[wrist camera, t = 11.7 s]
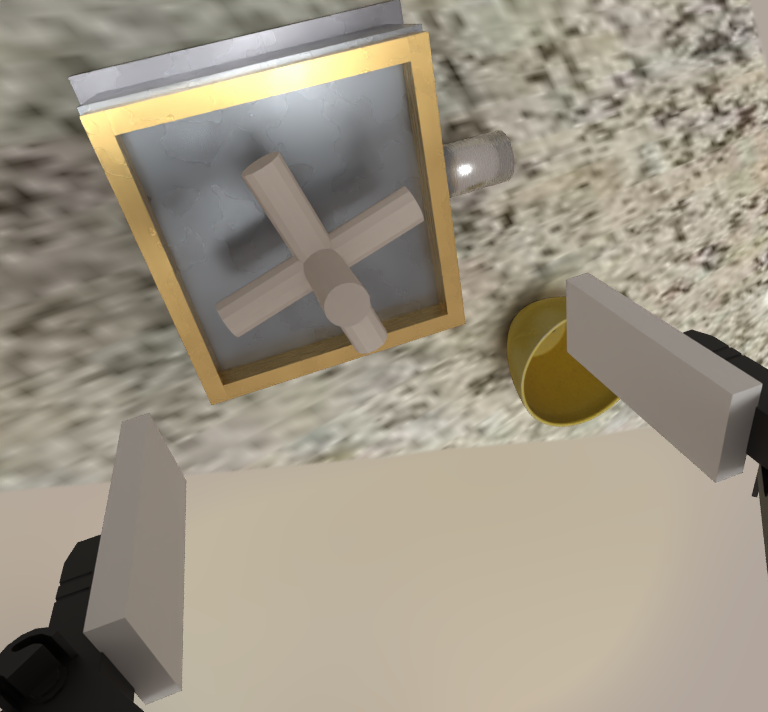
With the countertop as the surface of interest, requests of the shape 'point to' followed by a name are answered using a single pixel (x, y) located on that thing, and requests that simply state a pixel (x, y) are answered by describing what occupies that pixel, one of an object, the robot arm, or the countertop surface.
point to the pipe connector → (317, 256)
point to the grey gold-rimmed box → (310, 169)
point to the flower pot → (552, 368)
